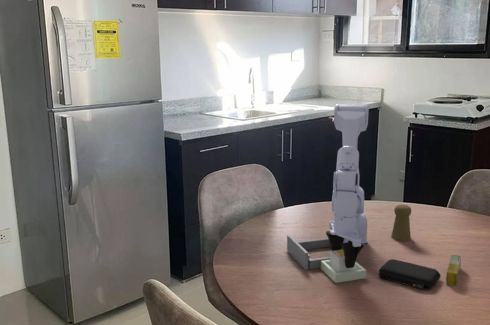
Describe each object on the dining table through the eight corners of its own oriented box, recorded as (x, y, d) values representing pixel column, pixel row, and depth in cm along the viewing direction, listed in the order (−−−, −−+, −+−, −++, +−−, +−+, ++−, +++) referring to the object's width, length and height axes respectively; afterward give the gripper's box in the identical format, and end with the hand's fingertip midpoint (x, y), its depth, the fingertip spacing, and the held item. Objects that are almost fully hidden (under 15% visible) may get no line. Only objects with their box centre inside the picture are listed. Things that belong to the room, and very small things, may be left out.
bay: (349, 264, 139) (349, 256, 138) (365, 278, 130) (366, 270, 130) (320, 268, 136) (320, 260, 136) (335, 282, 128) (335, 274, 127)
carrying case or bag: (373, 280, 130) (430, 295, 121) (374, 269, 129) (431, 284, 121) (387, 265, 138) (441, 279, 130) (388, 255, 138) (442, 268, 129)
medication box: (450, 267, 137) (450, 254, 136) (460, 269, 135) (461, 255, 134) (445, 285, 126) (446, 271, 125) (457, 287, 125) (458, 273, 124)
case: (332, 244, 153) (333, 229, 151) (355, 262, 140) (355, 246, 138) (287, 250, 148) (287, 235, 147) (305, 269, 135) (305, 253, 134)
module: (346, 265, 136) (346, 247, 135) (355, 273, 131) (355, 255, 130) (329, 268, 134) (330, 250, 133) (338, 275, 130) (338, 257, 129)
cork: (406, 242, 154) (409, 209, 151) (388, 238, 157) (390, 206, 155) (413, 237, 158) (415, 204, 156) (395, 233, 162) (397, 201, 159)
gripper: (319, 207, 135) (318, 253, 138) (344, 224, 121) (342, 275, 124) (342, 205, 137) (340, 250, 140) (369, 221, 123) (366, 271, 126)
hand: (343, 261), depth 132 cm, fingers open, 7 cm apart
